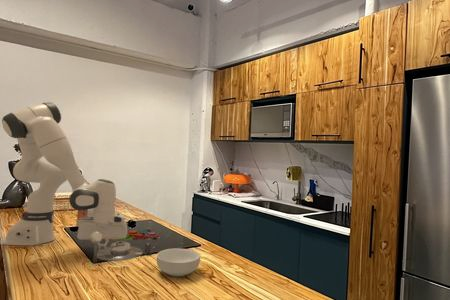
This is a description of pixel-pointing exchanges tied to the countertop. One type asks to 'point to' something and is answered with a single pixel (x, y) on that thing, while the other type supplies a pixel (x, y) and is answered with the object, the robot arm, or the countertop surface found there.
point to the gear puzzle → (140, 235)
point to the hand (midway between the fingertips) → (102, 248)
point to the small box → (84, 214)
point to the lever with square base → (95, 243)
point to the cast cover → (120, 248)
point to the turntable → (134, 253)
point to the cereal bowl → (178, 261)
